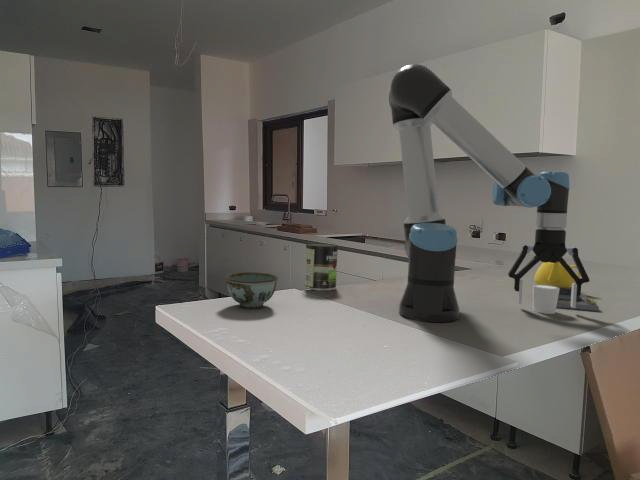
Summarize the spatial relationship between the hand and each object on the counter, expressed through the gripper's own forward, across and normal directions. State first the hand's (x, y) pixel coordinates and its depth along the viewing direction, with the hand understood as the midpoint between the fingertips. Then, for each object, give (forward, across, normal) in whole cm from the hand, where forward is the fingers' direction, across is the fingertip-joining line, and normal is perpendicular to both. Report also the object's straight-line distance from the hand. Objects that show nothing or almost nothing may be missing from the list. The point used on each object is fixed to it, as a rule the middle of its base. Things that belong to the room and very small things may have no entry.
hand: (545, 305), depth 134 cm
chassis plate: (+2, -8, -16) cm, 18 cm away
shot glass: (+2, 0, 0) cm, 2 cm away
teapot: (+2, -9, -36) cm, 37 cm away
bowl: (+1, +75, +30) cm, 81 cm away
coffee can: (+1, +66, -3) cm, 66 cm away
